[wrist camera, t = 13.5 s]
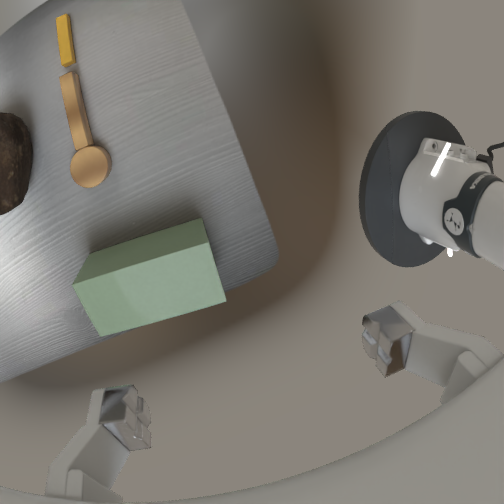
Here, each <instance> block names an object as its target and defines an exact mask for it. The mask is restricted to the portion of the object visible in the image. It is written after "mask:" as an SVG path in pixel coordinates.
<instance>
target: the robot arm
mask: <svg viewBox="0 0 504 504" xmlns="http://www.w3.org/2000/svg"><path fill="white" fill-rule="evenodd" d="M432 146H433V147H432ZM501 147H504V142H503V143H500V144H496V145H492V146H490V147H489V148H488V149H487V152H488V154H489V156H485V155H481V154H479V155H478V156H477V157H476V155H477V152H476V151H474V149H473V148H472V147H469V146H465V145H461V144H456V143H452V142H447V141H442V140H437V139H432V138H424V139H423V141H422V143H421V145H420V148H419V151H418V153H417V155H416V156H415V158H414V159H413V160H412V161H411V163H410V164H409V166H408V167H407V169H406V171H405V173H404V176H403V179H402V182H401V186H400V193H399V206H400V212H401V216H402V219H403V221H404V223H405V224H406V226H407V227H408V228H409V229H410V230H412V231H414V232H416V233H417V234H419V236H420V238H421V240H422V241H423V242H424V243H426V244H431V243H433V242H435V243H437V244H440V245H442V246H444V247H447V248H448V255H449V256H452V250H454V251H458V250H460V249H462V250H463V251H465V252H466V253H467V254H469V255H472V256H475V257H477V258H484V259H485V260H487V261H489V262H490V263H492V264H493V265H495V266H497V267H498V268H500V269H502V270H503V271H504V182H503V181H502V180H501V179H500V178H498V177H497V176H496V175H494V173H493V166H492V161H493V153H492V152H491V151H492V150H494V149H497V148H501ZM362 325H363V326H364V327H365V330H364V332H363V333H362V343H363V347H364V349H365V351H366V353H367V354H368V356H369V357H370V358H373V359H376V367H377V368H378V369H379V371H380V372H381V373H382V375H383V376H384V377H385V378H386V377H388V376H390V375H392V374H394V373H396V372H398V371H400V370H402V369H404V368H405V370H407V371H409V372H411V373H414V374H416V375H418V376H420V377H422V378H425V379H427V380H429V381H431V382H434V383H436V384H438V385H440V386H442V387H445V390H444V392H443V395H442V396H441V399H440V402H441V404H442V406H440V407H438V408H437V409H435V410H434V411H432V412H431V413H429V414H427V415H426V416H424V417H423V418H421V419H419V420H418V421H416V422H414V423H412V424H411V425H409V426H407V427H406V428H404V429H402V430H400V431H398V432H396V433H395V434H393V435H391V436H389V437H387V438H385V439H383V440H381V441H379V442H377V443H375V444H373V445H371V446H369V447H367V448H365V449H362V450H360V451H358V452H356V453H353V454H351V455H349V456H346V457H344V458H342V459H339V460H337V461H334V462H332V463H329V464H327V465H324V466H321V467H319V468H316V469H313V470H311V471H308V472H305V473H302V474H298V475H295V476H292V477H289V478H286V479H282V480H279V481H275V482H272V483H268V484H265V485H260V486H257V487H252V488H248V489H243V490H239V491H234V492H229V493H224V494H218V495H212V496H205V497H198V498H191V499H183V500H172V501H158V502H136V503H135V502H134V503H133V502H132V503H123V498H122V497H121V496H120V495H118V494H116V493H115V492H113V491H112V490H110V489H111V487H112V485H113V483H114V482H115V480H116V478H117V476H118V474H119V472H120V470H121V469H122V467H123V465H124V463H125V461H126V459H127V457H128V456H129V454H130V451H134V450H141V449H148V448H151V432H150V431H149V430H148V429H147V428H148V426H149V424H150V423H151V414H150V410H149V407H148V405H147V403H146V401H145V400H144V399H143V398H141V397H139V396H137V394H138V391H137V389H136V388H135V387H134V385H123V386H117V387H110V388H104V389H96V390H94V391H93V392H92V396H91V400H90V405H89V410H88V416H87V421H86V426H82V427H81V428H80V429H79V431H78V432H77V433H76V434H75V436H74V437H73V438H72V439H71V440H70V442H69V443H68V444H67V445H66V446H65V448H64V449H63V450H62V451H61V453H60V454H59V455H58V456H57V457H56V459H55V460H54V461H53V462H52V464H51V465H50V466H49V469H48V476H47V482H46V489H45V496H43V495H37V494H31V493H27V492H22V491H18V490H14V489H10V488H6V487H2V486H0V504H504V354H502V353H501V352H500V351H499V350H498V349H497V348H496V347H495V346H494V345H493V344H492V343H490V341H488V340H487V339H486V338H485V337H484V336H480V335H476V334H471V333H468V332H464V331H460V330H456V329H451V328H448V327H444V326H440V325H436V324H433V323H429V324H426V323H425V322H424V321H423V320H422V319H421V318H420V317H419V316H417V314H415V313H414V312H413V311H412V310H411V309H410V308H409V307H408V306H407V305H406V304H404V303H403V302H402V301H397V302H395V303H392V304H390V305H388V306H386V307H384V308H381V309H379V310H377V311H374V312H372V313H370V314H367V315H365V316H364V317H363V322H362Z"/></svg>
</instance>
